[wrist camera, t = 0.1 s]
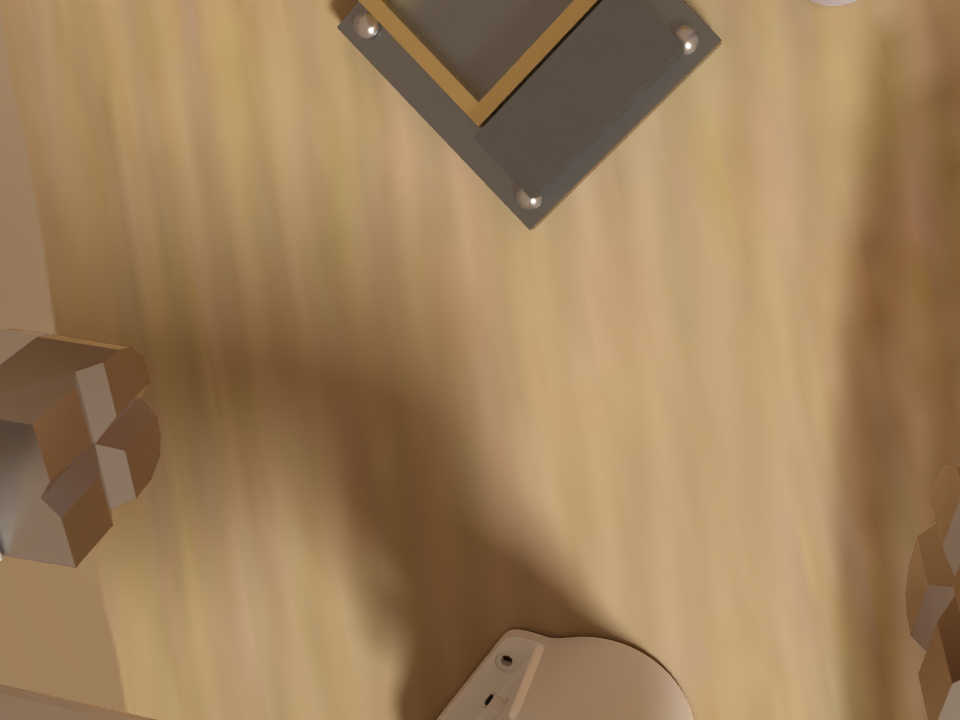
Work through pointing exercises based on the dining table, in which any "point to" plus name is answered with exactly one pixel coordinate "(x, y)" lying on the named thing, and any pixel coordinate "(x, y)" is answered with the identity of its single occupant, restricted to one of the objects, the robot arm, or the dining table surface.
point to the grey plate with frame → (532, 80)
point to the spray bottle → (833, 2)
